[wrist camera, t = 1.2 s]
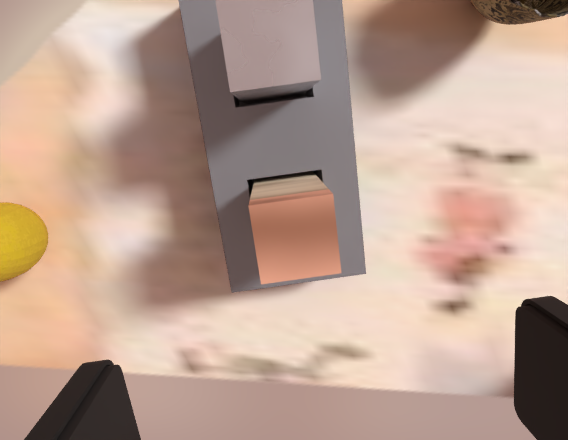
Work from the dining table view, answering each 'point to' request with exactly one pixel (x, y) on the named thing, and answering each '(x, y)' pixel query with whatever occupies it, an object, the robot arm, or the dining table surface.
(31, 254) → the lemon
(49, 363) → the dining table surface
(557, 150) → the dining table surface
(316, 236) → the birch plug
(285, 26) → the metal plug
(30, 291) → the dining table surface
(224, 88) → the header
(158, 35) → the dining table surface
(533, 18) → the cup
